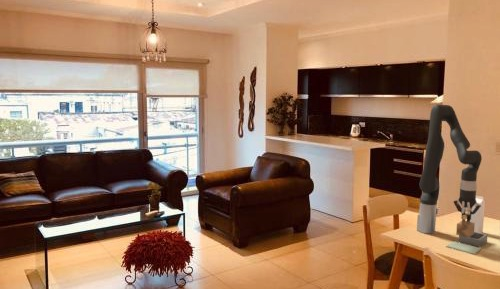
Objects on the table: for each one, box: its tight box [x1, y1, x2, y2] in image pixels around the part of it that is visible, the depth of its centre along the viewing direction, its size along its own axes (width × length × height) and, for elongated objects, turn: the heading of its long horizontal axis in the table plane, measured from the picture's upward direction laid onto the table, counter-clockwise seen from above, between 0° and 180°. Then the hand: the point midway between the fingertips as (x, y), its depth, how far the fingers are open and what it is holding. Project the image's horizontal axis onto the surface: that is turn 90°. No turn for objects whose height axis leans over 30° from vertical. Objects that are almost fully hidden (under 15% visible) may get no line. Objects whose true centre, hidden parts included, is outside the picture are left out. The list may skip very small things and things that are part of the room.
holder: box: [458, 232, 488, 248], centre depth 227 cm, size 10×12×4 cm
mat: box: [445, 240, 482, 255], centre depth 219 cm, size 14×10×1 cm
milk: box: [470, 195, 486, 234], centre depth 242 cm, size 6×6×22 cm
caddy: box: [456, 212, 475, 238], centre depth 217 cm, size 6×8×11 cm
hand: (466, 220), depth 217 cm, fingers closed on caddy, 1 cm apart
